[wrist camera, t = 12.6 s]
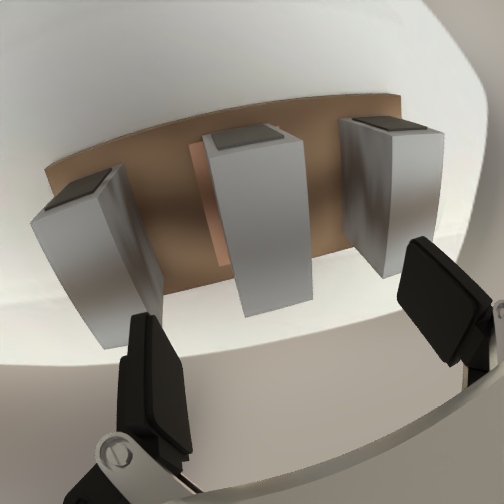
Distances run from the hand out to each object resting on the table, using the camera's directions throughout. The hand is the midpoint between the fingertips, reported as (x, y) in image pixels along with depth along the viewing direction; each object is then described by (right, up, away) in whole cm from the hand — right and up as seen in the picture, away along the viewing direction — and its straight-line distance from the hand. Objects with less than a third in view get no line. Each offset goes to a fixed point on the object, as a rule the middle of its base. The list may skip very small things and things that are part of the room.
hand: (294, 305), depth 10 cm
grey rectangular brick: (-2, +5, +9) cm, 11 cm away
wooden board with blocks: (-2, +6, +11) cm, 12 cm away
